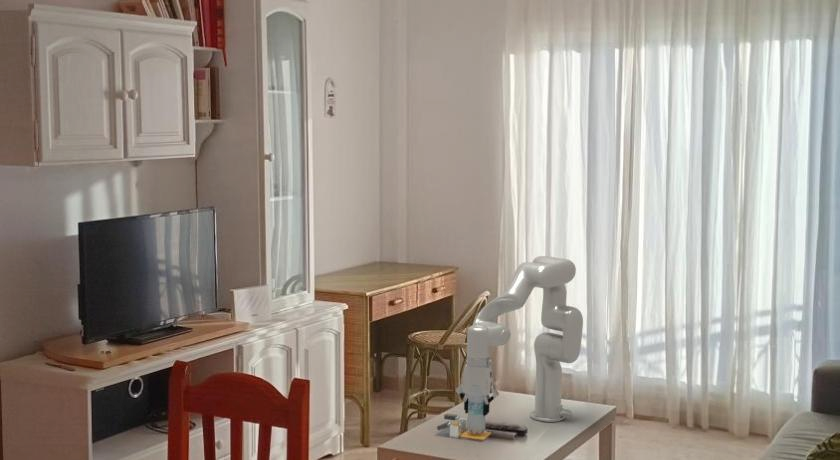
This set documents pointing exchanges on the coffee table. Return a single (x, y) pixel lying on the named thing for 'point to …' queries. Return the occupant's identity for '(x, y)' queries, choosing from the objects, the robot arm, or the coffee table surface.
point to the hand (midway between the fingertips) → (476, 413)
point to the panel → (447, 434)
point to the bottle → (475, 410)
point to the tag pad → (475, 435)
